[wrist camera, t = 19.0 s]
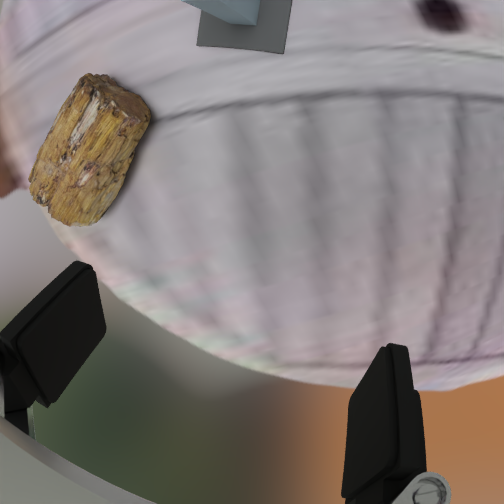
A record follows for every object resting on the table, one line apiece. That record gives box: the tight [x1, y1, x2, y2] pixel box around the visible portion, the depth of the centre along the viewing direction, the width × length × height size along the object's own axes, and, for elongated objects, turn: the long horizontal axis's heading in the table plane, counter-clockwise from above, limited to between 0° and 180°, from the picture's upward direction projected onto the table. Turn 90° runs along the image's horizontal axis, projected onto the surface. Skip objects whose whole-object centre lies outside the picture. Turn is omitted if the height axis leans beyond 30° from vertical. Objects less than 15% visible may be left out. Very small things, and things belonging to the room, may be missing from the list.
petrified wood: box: [28, 73, 151, 227], centre depth 37 cm, size 19×13×10 cm
